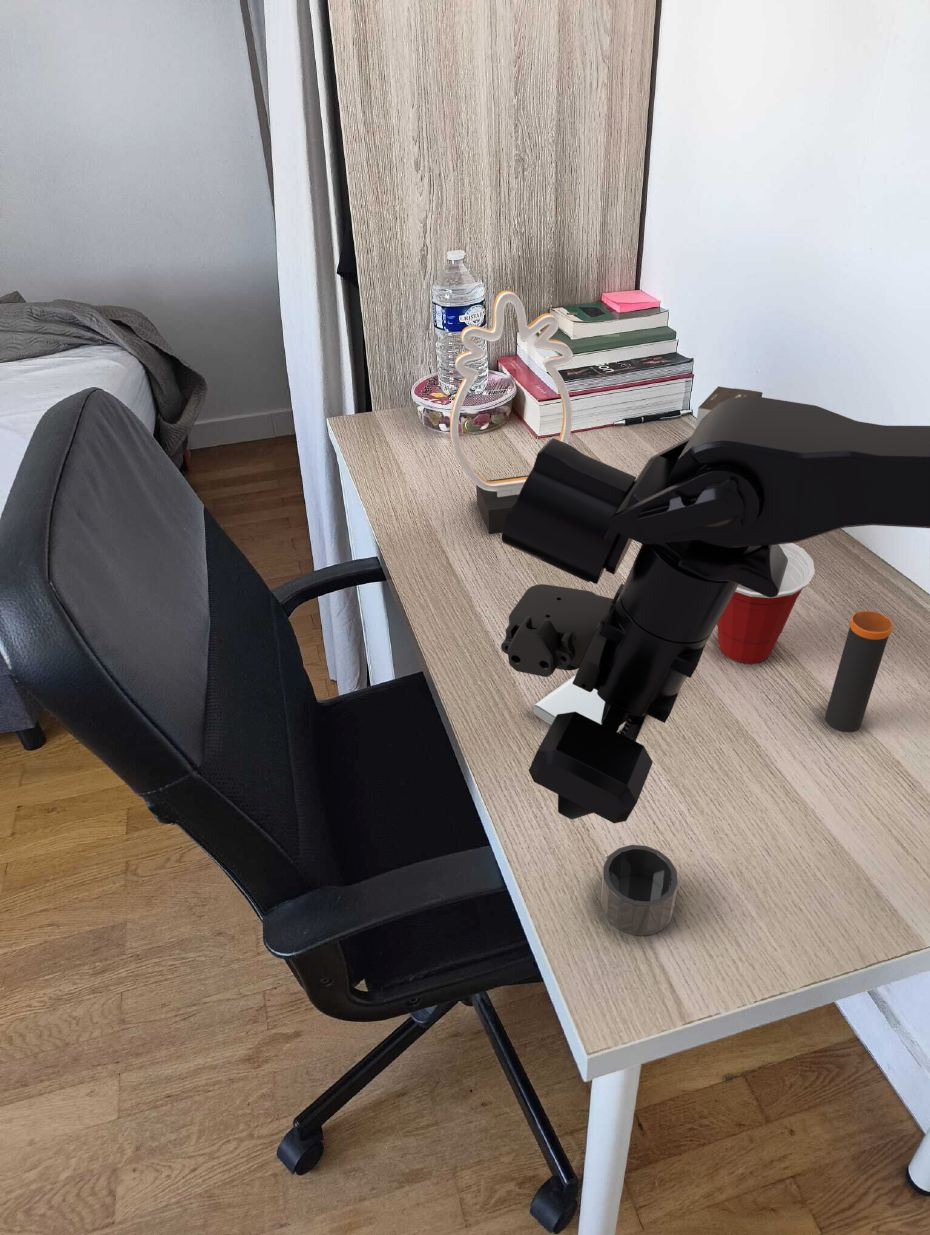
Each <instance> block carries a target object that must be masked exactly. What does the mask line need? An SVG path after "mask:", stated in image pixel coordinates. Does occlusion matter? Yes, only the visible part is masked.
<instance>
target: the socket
mask: <svg viewBox="0 0 930 1235" xmlns="http://www.w3.org/2000/svg"><path fill="white" fill-rule="evenodd" d="M678 878H679V877H678V871H677V868H676V867H675V866H674V864H673V862H672V860H671V859H670V858H669V857H667V856H666V855H665V854H664V853H663V852H661V850H659V849H656V848H653V847H650V846H648V845H642V844H628V845H626V846H622V847H618V848H617V849H616V850H615V851H613V852H612V853H610V854H609V855H608V856H607V858H606V860H605V862H604V864H603V867H602V879H601V893H600V894H601V895H600V896H601V897H600V898H601V899H600V903H601V908H602V912H603V915H604V916H605V918H606V919H607V921H608V922H609V923H610V924H611V925H612V926H614V928H616V929H618V930H619V931H621V932H623V933H624V934H628V935H631V936H637V937H645V936H651V935H654V934H657V933H659V932H661V931H662V930H664V929H665V928H666V927H667V926H668V925H669V923H670V921H671V919H672V917H673V912H674V910H675V903H676V898H677V891H678V885H679V879H678Z"/></svg>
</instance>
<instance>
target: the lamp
mask: <svg viewBox="0 0 930 1235" xmlns="http://www.w3.org/2000/svg"><path fill="white" fill-rule="evenodd" d="M509 303H510V304H512V306H513V308H514V312H515V314H516V315H515V316H516V323H517V328H518V335H519V339H520V341H522V342H528V341H529V340H530V339H532V338H533V337H534V336H535V335H537V333H539V334H538V337H537V338H536V339H535V341H534V342H533V346H534V347H535V348H536V349H541V350H547V351H552V352H555V353H559V354H560V355H554V356H550V357H549V358H546V359H544V360H542V364H543V367H544V368H545V370H546V371H547V373H548V375H549V376H550V377H551V379H552V380H553V382H554V384H555V386H556V388H557V391H558V393H559V396H560V400H561V405H562V424H561V428H560V429H561V430H560V434H559V438H558V440H559V441H562V442H564V443H566V444H569V441H570V437H571V433H572V428H573V406H572V401H571V397H570V393H569V391H568V387H567V385H566V383H565V380H564V379H563V377H562V375H561V374H560V372H559V371H558V369H557V368H558V367H564V366H568V365H569V364H571V363H572V361H573V359H574V353H573V351H572V349H571V347H569V346H568V344H566V343H565V342H563V341H561V340H559V339H551V338H552V337H554V335H555V334H556V333H557V332H558V330H559V326H560V325H559V320H558V319H557V317H556V316H555V315H553V313H549V312H546V313H543V314H540V315H539V316H537V317H536V318H535V319H533V321H532V322H530V323H528V321H527V315H526V314H527V313H526V310H525V307H524V305H523V302H522V300H521V299H520V298H519V296H518V295H517V294H516V293H515V292H513V291H512V290H502V291H500V292H499V294H498V295H497V296H496V298H495V300H494V303H493V324H492V327H491V328H485V327H482V326H479V325H468V326H465V327H464V328H463V329H462V331H461V334H460V340H461V342H462V344H463V346H464V348H465V349H466V350H467V351H463V352H460V353H459V354H458V355H457V356H456V358H455V363H454V367H455V370H456V371H457V372H458V374H459V375H461V376H462V377H463V379H462V381H461V383H460V385H459V387H458V389H457V391H456V394H455V396H454V399H453V402H452V406H451V410H450V417H449V433H450V434H449V435H450V439H451V440H450V441H451V444H452V448H453V451H454V453H455V456H456V458H457V461H458V462H459V464H460V466H461V468H462V469H463V471H464V472H465V474H466V476H467V477H468V478H469V480H471V481H472V482H473V484H475V488H476V505H477V508H478V510H479V512H480V515H481V518H482V520H483V522H484V524H485V527H486V530H487V532H488V534H497V533H502V531H503V527H504V523H505V519H506V516H507V514H508V511H509V510H510V508H511V507H512V506H513V505H514V504H515V502H516V500H517V498H518V496H519V493H520V491H521V489H522V487H523V485H524V483H525V481H526V479H527V478H528V476H529V474H526V475H520V476H512V477H511V476H510V477H505V478H504V477H503V478H495V479H489V480H485V479H483V478H482V477H481V476H479V475H478V474H477V472H476V471H475V470H474V469H473V468H472V466H471V465H470V463H469V461H468V460H467V458H466V456H465V454H464V452H463V449H462V445H461V442H460V435H459V424H460V415H461V412H462V411H461V410H462V407H463V404H464V402H465V399H466V398H467V395H468V393H469V391H470V389H471V388H472V386H473V385H474V383H475V382H476V380H477V379H478V378H479V375H480V373H479V371H478V370H477V369H476V368H473V367H470V366H468V365H465V364H467V363H469V362H472V361H476V360H477V361H478V360H481V359H483V358H484V357H486V356H485V355H486V352H485V350H484V349H483V348H482V347H481V346H480V345H478V344H477V343H476V342H474V341H473V340H472V339H471V338H473V337H474V338H478V339H481V340H484V341H487V342H491V343H494V342H497V341H499V340H500V339H501V338H502V335H503V331H504V325H505V309H506V306H507V304H509Z"/></svg>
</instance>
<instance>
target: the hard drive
mask: <svg viewBox="0 0 930 1235" xmlns="http://www.w3.org/2000/svg"><path fill="white" fill-rule="evenodd" d="M575 676H576V674H575V675H573V676H571V677H570V678H569V679H567V680H566V681H565V682H563V683H562V684H561V685H559V686H558V687H557V688H555V689H554V690H553V691H551V692H550V693H548V694H547V695H546V696H544V697H543V698H541V699H540V700H539V701H537V702H536V703H534V704H533V714H534V715H535V716H536V717H538V718H539V719H541V720H543V721H544V722H546V723H547V724H548V725H550V726H551V725H552V723H553V721H554V719H555V717H556V716H557V714H563V713H569V712H577V713H579V714H581V715H583V716H585V717H587V718H589V719H591V720H593V721H595V722H597V723H599V724H601V719H602V714H603V709H604V705H605V701H603V700H602V699H601V698H600V697H599V696H598V694H597V691H598V690H596V689H593V691H592V692H588V691H586V690H584V689H582V688H580V687H578V686H575V685H573V684H572V683H573V681H574V678H575ZM624 724H625V722H624V723H623V724H622V725H620V726H619V729H618V731H617V732H618V733H619V732H621V731H622V729H623V727H624Z"/></svg>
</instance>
